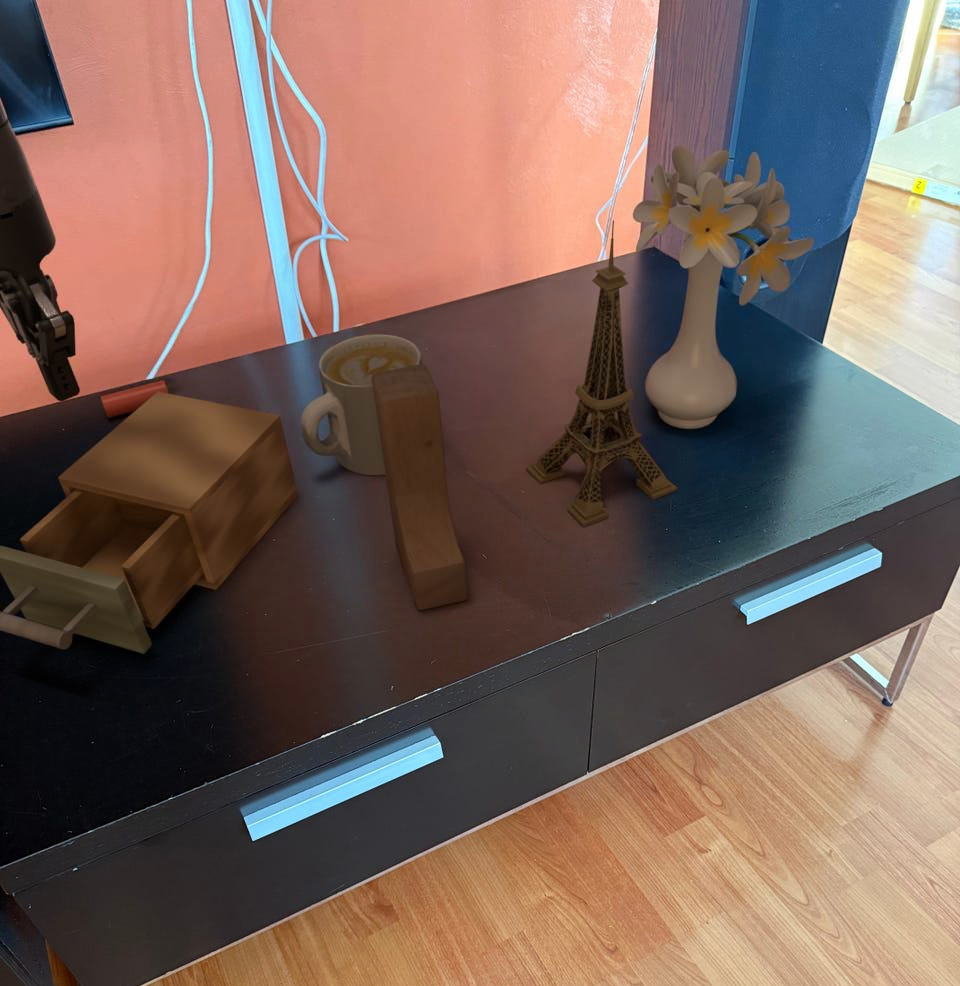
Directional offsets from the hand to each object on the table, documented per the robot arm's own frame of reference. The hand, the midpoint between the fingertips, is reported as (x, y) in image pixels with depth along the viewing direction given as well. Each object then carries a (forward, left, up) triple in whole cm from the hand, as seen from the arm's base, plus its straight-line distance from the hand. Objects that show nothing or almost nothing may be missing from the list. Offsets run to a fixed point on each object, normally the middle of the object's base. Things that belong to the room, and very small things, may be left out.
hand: (66, 395), depth 84 cm
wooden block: (+33, +2, -13) cm, 36 cm away
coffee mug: (+19, +17, -13) cm, 29 cm away
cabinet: (+9, +1, -13) cm, 16 cm away
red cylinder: (-9, +16, -13) cm, 22 cm away
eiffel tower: (+43, +20, -13) cm, 50 cm away
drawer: (+9, -12, -12) cm, 19 cm away
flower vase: (+49, +34, -13) cm, 61 cm away
